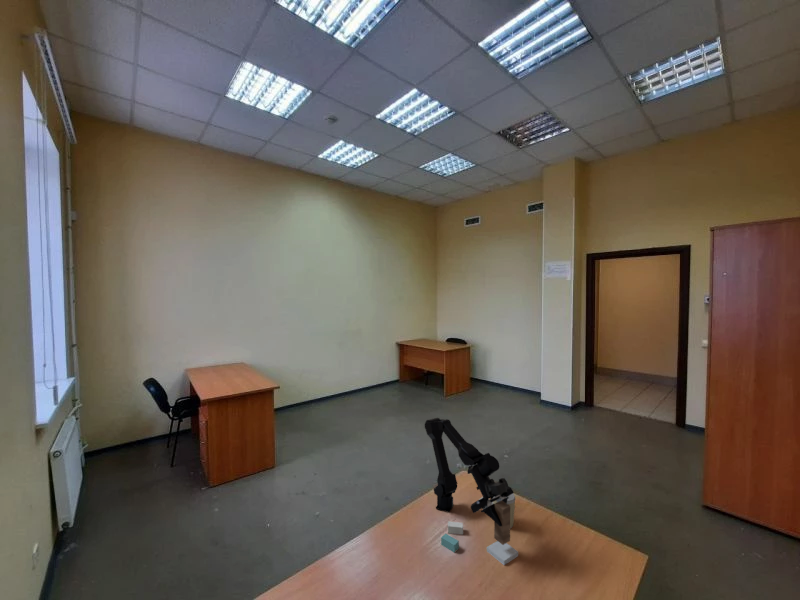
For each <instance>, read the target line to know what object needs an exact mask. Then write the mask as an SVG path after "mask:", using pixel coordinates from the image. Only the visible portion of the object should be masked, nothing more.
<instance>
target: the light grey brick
mask: <svg viewBox="0 0 800 600" xmlns="http://www.w3.org/2000/svg"><path fill="white" fill-rule="evenodd" d="M463 523H464V522H458V521H447V534H453V535H464V524H463Z"/></svg>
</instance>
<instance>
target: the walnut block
mask: <svg viewBox="0 0 800 600" xmlns="http://www.w3.org/2000/svg"><path fill="white" fill-rule="evenodd" d="M495 511H496V513H497V515H498V517H499V519H500V521H501V524H502V526H501V527H500V526H499V525H498V524H497V523H496V522H495V521H493V522H494V527H493V528H494V529H493V530H494V532H493V533H494V535H493V539H495V540H496V541H498V542H500V543H501V544H502V545H504V544H505V543H507V544H508V543H509V542H510V541H511V528H510V505H508V504H507V503H505V502H503V501H502V500H501V501H499V502H497V503H495Z"/></svg>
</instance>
